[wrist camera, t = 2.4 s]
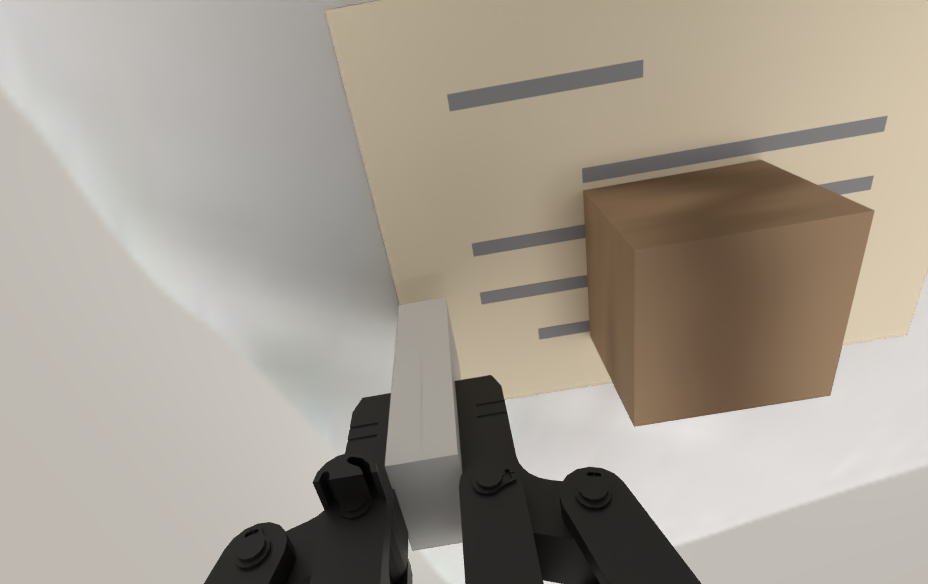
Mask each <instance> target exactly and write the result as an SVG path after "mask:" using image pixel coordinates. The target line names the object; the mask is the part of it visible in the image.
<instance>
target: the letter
mask: <svg viewBox="0 0 928 584" xmlns="http://www.w3.org/2000/svg"><path fill="white" fill-rule="evenodd" d="M324 11H325V15H326V19H327V22H328V26H329V30H330V34H331V38H332V42H333V46H334V50H335V54H336V58H337V62H338V66H339V69H340V73H341V77H342V81H343V85H344V89H345V93H346V97H347V101H348V105H349V109H350V112H351V116H352V120H353V124H354V128H355V132H356V136H357V140H358V144H359V148H360V152H361V156H362V159H363V163H364V167H365V171H366V175H367V179H368V183H369V187H370V191H371V195H372V199H373V202H374V206H375V210H376V214H377V218H378V222H379V226H380V230H381V234H382V238H383V242H384V246H385V249H386V253H387V257H388V261H389V265H390V269H391V273H392V277H393V281H394V285H395V289H396V292H397V296H398V300H399V304H400V305H404V304H409V303H415V302H421V301H427V300H433V299H438V298H444V297H446V301H447V306H448V311H449V316H450V321H451V325H452V330H453V335H454V340H455V345H456V350H457V355H458V360H459V365H460V373H461V380H463V379H469V378H475V377H481V376H487V375H492V376H493V377H494V378H495V379H496V380H497V381H498V383H499V384H500V385H501V386H502V391H503V396H504V400H506V399H513V398H519V397H525V396H531V395H537V394H544V393H550V392H556V391H562V390H568V389H575V388H581V387H587V386H593V385H599V384H606V383H612V380H611V378H610V376H609V374H608V372H607V370H606V368H605V366H604V364H603V362H602V360H601V358H600V356H599V354H598V352H597V349H596V347H595V345H594V343H593V341H592V339H591V337H590V322H589V301H588V280H587V260H586V239H585V218H584V197H583V190H588V189H594V188H600V187H606V186H611V185H617V184H623V183H629V182H635V181H641V180H646V179H652V178H658V177H664V176H670V175H676V174H681V173H687V172H693V171H699V170H705V169H711V168H716V167H722V166H728V165H734V164H740V163H746V162H751V161H757V160H763V161H765V162H768V163H770V164H772V165H774V166H777V167H779V168H781V169H783V170H785V171H788V172H790V173H792V174H794V175H797V176H799V177H801V178H803V179H806V180H808V181H810V182H812V183H814V184H817V185H819V186H821V187H823V188H826V189H828V190H830V191H832V192H835V193H837V194H839V195H841V196H843V197H846V198H848V199H850V200H852V201H855V202H857V203H859V204H861V205H864V206H866V207H868V208H870V209H872V210H875V212H874V216H873V220H872V224H871V228H870V232H869V237H868V241H867V245H866V249H865V253H864V257H863V261H862V266H861V270H860V274H859V278H858V282H857V286H856V291H855V295H854V299H853V303H852V307H851V311H850V316H849V320H848V324H847V328H846V332H845V336H844V340H843V345H848V344H854V343H860V342H867V341H873V340H879V339H885V338H892V337H898V336H904V335H908V332H909V328H910V325H911V322H912V319H913V316H914V312H915V309H916V306H917V303H918V300H919V296H920V293H921V290H922V287H923V283H924V280H925V277H926V274H927V271H928V0H379V1H373V2H368V3H362V4H357V5H351V6H346V7H341V8H335V9H330V10H324Z"/></svg>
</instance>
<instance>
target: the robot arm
mask: <svg viewBox="0 0 928 584" xmlns="http://www.w3.org/2000/svg"><path fill="white" fill-rule="evenodd" d="M313 484H314V487H315V489H316V491H317V494H318V496H319V498H320V501H321V503H322V505H323V507H324V511H323V512H322V513H321V514H319V515H318V516H317V517H315V518H313V519H311V520H309V521H308V522H305V523H303V524H301V525H299V526H297V527H294V528H292V529H290V530H288V531H286V532H285V530H284V529H283V528H282V527H281V526H280V525H278V524H274V523H271V522H268V523H260V524H256V525H254V526H252V527H250V528H247V529H245V530H244V531H243V532H241V533H240V534H239V535H238V536H236V537H235V538H234V539H233V540H232V541H231V542H230V543H229V545H228V546H227V547H226V549H225V550H224V551H223V553H222V555H221V556H220V558H219V560H218V561H217V563H216V565H215V566H214V568H213V570H212V571H211V573H210V574H209V576H208V578H207V580H206V581H205V583H204V584H412V571H411V565H410V562H409V559H408V539H409V542H410V545H411V548H412V551H414V550H420V549H426V548H432V547H438V546H444V545H450V544H456V543H462V542H463V554H464V569H465V583H466V584H543V580H544V581H550V582H556V583H561V584H701V583H700V581H699V580H698V579H697V578H696V576H695V575H694V573H693V572H692V571H691V570H690V568H689V567H688V566H687V564H686V563H685V562H684V560H683V559H682V558H681V556H680V555H679V554H678V552H677V551H676V550H675V549H674V547H673V546H672V545H671V543H670V542H669V541H668V539H667V538H666V537H665V535H664V534H663V533H662V532H661V530H660V529H659V528H658V526H657V525H656V524H655V522H654V521H653V520H652V519H651V517H650V516H649V515H648V513H647V512H646V511H645V509H644V508H643V507H642V505H641V504H640V503H639V502H638V500H637V499H636V498H635V496H634V495H633V494H632V492H631V491H630V490H629V488H628V487H627V486H626V485H625V483H624V482H623V481H622V480H621V479H620V478H619V477H618V476H616V475H615V474H614V473H612V472H610V471H607V470H605V469H603V468H595V467H586V468H581V469H577V470H575V471H573V472H572V473H570V474H569V475H567V476H566V478H565V479H564V480H563V481H555V480H547V479H542V478H538V477H536V476H534V475H532V474H530V473H528V472H527V471H526V470H525V469H523V467H522V466H521V465H520V464H519V462H518V459H517V457H516V453H515V448H514V444H513V439H512V434H511V429H510V424H509V420H508V415H507V410H506V405H505V400H504V396H503V391H502V386H501V385H500V384H499V383H498V381H497V380H496V379H495V378H494V377H493V376H492V375H487V376H481V377H475V378H469V379H463V380H461V373H460V365H459V360H458V355H457V350H456V345H455V340H454V335H453V330H452V325H451V321H450V316H449V311H448V306H447V301H446V297H444V298H438V299H433V300H427V301H421V302H415V303H409V304H404V305H399V309H398V321H397V332H396V343H395V355H394V366H393V378H392V389H391V393H389V394H383V395H377V396H371V397H365V398H362V400H361V401H360V402H359V404H358V405H357V407H356V408H355V410H354V411H353V413H352V419H351V425H350V430H349V436H348V442H347V447H346V452H345V454H343V455H340V456H337V457H335V458H334V459H332V460H330V461H329V462H327V463H326V464H325V465H324V466H323V467H322V468H321V469H320V470H319V471H318V472H317V474H316V476H315V479H314V481H313Z"/></svg>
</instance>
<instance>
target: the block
mask: <svg viewBox="0 0 928 584" xmlns="http://www.w3.org/2000/svg"><path fill="white" fill-rule="evenodd" d="M583 197H584V218H585V239H586V260H587V280H588V301H589V322H590V337H591V339H592V341H593V343H594V345H595V347H596V349H597V352H598V354H599V356H600V358H601V360H602V362H603V364H604V366H605V368H606V370H607V372H608V374H609V376H610V378H611V380H612V382H613V384H614V386H615V388H616V390H617V392H618V394H619V397H620V399H621V401H622V403H623V405H624V407H625V409H626V411H627V413H628V415H629V417H630V419H631V421H632V423H633V425H634V427H635V426H641V425H647V424H654V423H660V422H666V421H673V420H679V419H685V418H692V417H698V416H704V415H711V414H717V413H723V412H729V411H736V410H742V409H748V408H755V407H761V406H767V405H774V404H780V403H786V402H793V401H799V400H805V399H812V398H818V397H824V396H830V394H831V390H832V386H833V382H834V378H835V374H836V370H837V365H838V361H839V357H840V353H841V349H842V345H843V340H844V336H845V332H846V328H847V324H848V320H849V316H850V311H851V307H852V303H853V299H854V295H855V291H856V286H857V282H858V278H859V274H860V270H861V266H862V261H863V257H864V253H865V249H866V245H867V241H868V237H869V232H870V228H871V224H872V220H873V216H874V212H875V210H872V209H870V208H868V207H866V206H864V205H861V204H859V203H857V202H855V201H852V200H850V199H848V198H846V197H843V196H841V195H839V194H837V193H835V192H832V191H830V190H828V189H826V188H823V187H821V186H819V185H817V184H814V183H812V182H810V181H808V180H806V179H803V178H801V177H799V176H797V175H794V174H792V173H790V172H788V171H785V170H783V169H781V168H779V167H777V166H774V165H772V164H770V163H768V162H765V161H763V160H757V161H751V162H746V163H740V164H734V165H728V166H722V167H716V168H711V169H705V170H699V171H693V172H687V173H681V174H676V175H670V176H664V177H658V178H652V179H646V180H641V181H635V182H629V183H623V184H617V185H611V186H606V187H600V188H594V189H588V190H583Z"/></svg>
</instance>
